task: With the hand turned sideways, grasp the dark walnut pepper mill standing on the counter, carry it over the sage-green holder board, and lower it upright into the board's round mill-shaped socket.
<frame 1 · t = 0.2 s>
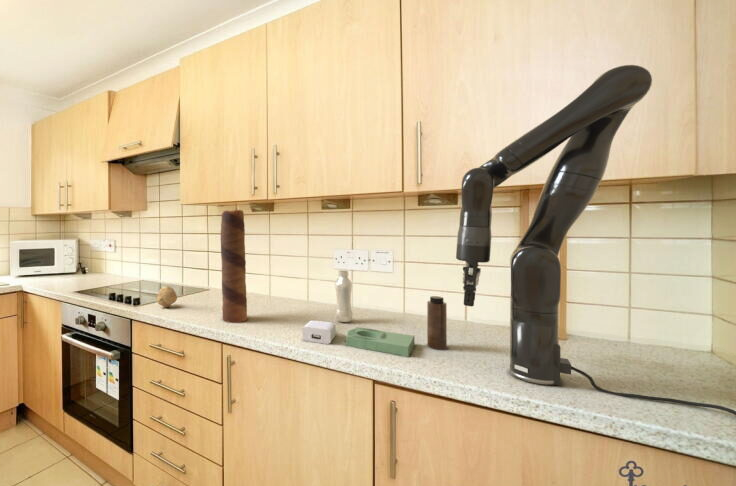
hand: (469, 302, 98), 17 cm above the worktop, tool pointing down, fingers open, 8 cm apart
holder board: (380, 345, 115), on the worktop
charger: (321, 336, 126), on the worktop
natural sponge: (167, 307, 171), on the worktop
plastic bottle: (343, 322, 143), on the worktop
pepper mill: (436, 346, 113), on the worktop
wafer roll: (234, 320, 148), on the worktop
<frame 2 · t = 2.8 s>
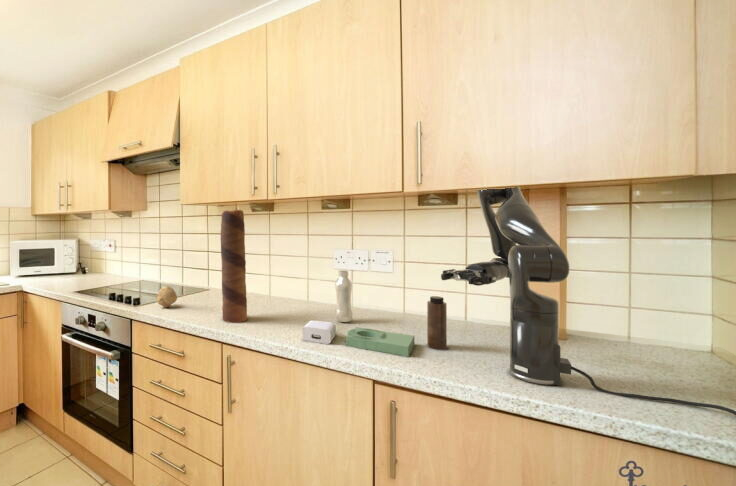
hand: (455, 279, 117), 21 cm above the worktop, tool horizontal, fingers open, 8 cm apart
nothing on the worktop moved.
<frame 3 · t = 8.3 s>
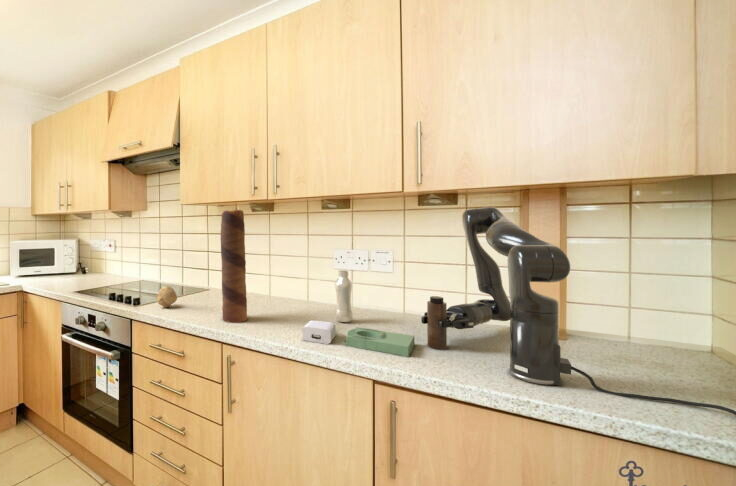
hand: (431, 322, 112), 8 cm above the worktop, tool horizontal, fingers closed on pepper mill, 5 cm apart
pepper mill: (436, 346, 113), on the worktop, touching gripper
everything else where it was.
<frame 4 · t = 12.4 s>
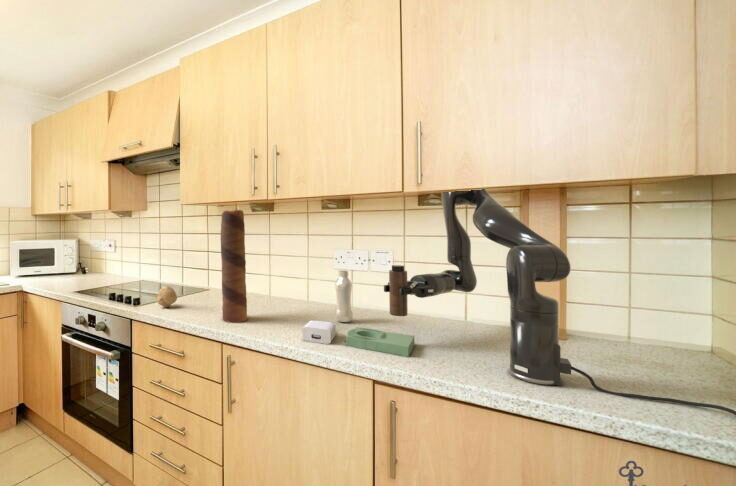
hand: (392, 290, 114), 18 cm above the worktop, tool horizontal, fingers closed on pepper mill, 5 cm apart
pepper mill: (398, 314, 116), point 10 cm above the worktop, touching gripper
everything else where it was.
when the fingers open (8 cm above the worktop, at t = 17.0 s): pepper mill stays where it is, resting in holder board.
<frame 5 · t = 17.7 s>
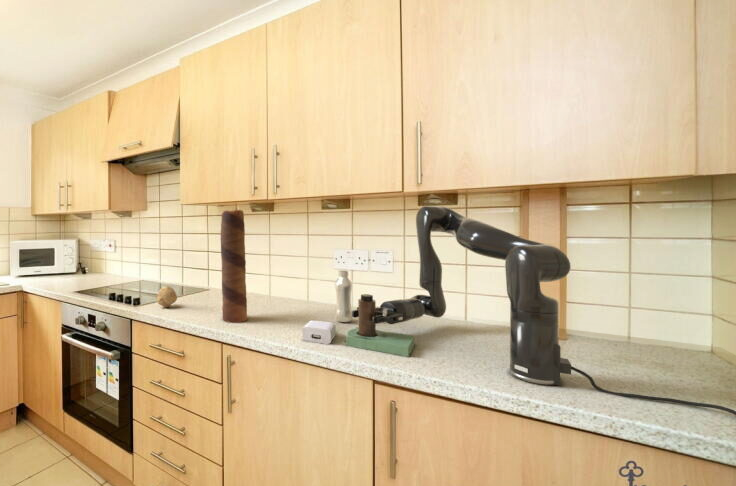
hand: (362, 317, 117), 9 cm above the worktop, tool horizontal, fingers open, 8 cm apart
pepper mill: (367, 342, 118), resting in holder board
everything else where it was.
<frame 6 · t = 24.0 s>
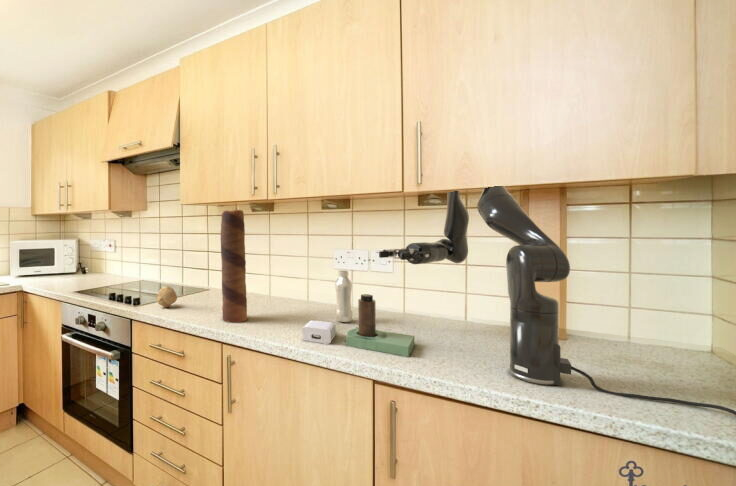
hand: (390, 255, 122), 28 cm above the worktop, tool horizontal, fingers open, 8 cm apart
nothing on the worktop moved.
at the end: pepper mill 0.2 cm from the target spot in the holder board, point 0.0 cm above the holder board's base; pepper mill tilted 0°; the gripper is holding nothing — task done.
